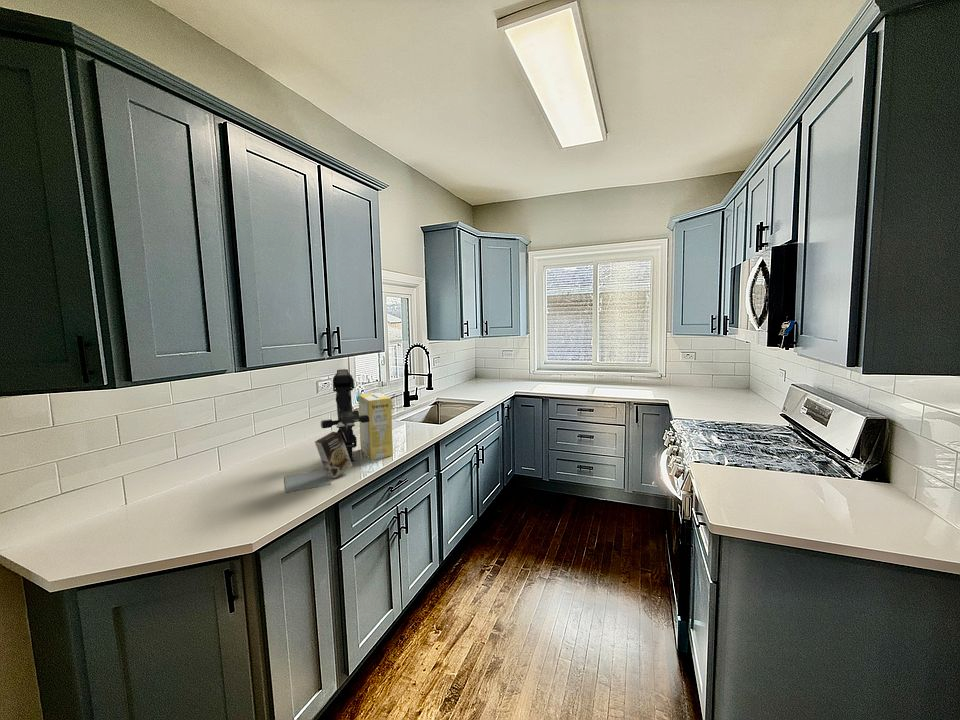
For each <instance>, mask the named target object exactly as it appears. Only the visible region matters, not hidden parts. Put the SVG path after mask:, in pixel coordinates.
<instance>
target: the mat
mask: <svg viewBox="0 0 960 720" xmlns="http://www.w3.org/2000/svg"><path fill="white" fill-rule="evenodd" d="M329 477H330V476H327V475H326V472H325V469H319V470H311V471H305V472H300V473H295V474H289V475H288V474H287V475H284V485H285V487H284V488H285V493H286V494H287V493H292V492H298V491H303V490H309V489H314V488H319V487H325V486H330V485H332V482H331V480H330V478H329Z"/></svg>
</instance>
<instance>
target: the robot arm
mask: <svg viewBox="0 0 960 720" xmlns="http://www.w3.org/2000/svg"><path fill="white" fill-rule="evenodd" d="M354 389H355V381H354V378H353V375H351V374H350V373H349V369H346V368H345V369H343V368H342V369H337V370H336V374H334V376H333V377H332V391H333V393H334V392H335V393H336V394H335V402H336V410H337V411H336V413H337V419H336V420H333V419H323V420H321V421H320V428H321V429H329V428H332V427H333V426H336V428H337V431H336V432H339V433H341V435H342V437H343V440H344V443H345V446H346V449H347V452H348V455H349V458H350V461H351V462H355V461H356V460H355V458H354V457H353V449H355V448H356V447H357V437H356V435H355V434H354V431H353V428H354V427H355V426H356V424H355V423H357V422H359V423H360V422H362V423H365V422H370V421H369V416H368V415H359V409H356V410H353V409H352V408H353V407H352V397H351V392H352V391H353V390H354Z"/></svg>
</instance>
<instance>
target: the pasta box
mask: <svg viewBox="0 0 960 720" xmlns="http://www.w3.org/2000/svg"><path fill="white" fill-rule="evenodd" d="M358 411H359V415H368V416H369V421H370V422H365V423H362V422H359V436H360V437H359V443H360V451H361V452H363V454H365V455H366V457H367V458H368V459H370V460H371V461H373V460H376V459H383V458H388V456H389V457H393V456H394V451H393V449H394V448H393V447H394V446H393V422H392V419H393V418H392V413H393V412H392V398H391V397H389V396H387V395H385V394H383V393H381V392H374V393H372V392H371V393H363V394H358Z"/></svg>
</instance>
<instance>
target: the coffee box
mask: <svg viewBox="0 0 960 720" xmlns="http://www.w3.org/2000/svg"><path fill="white" fill-rule="evenodd" d="M314 443H315V446H316V448H317V452H318V454H319V457H320V460H321V463H322V466H323V468H324V469H325V472H326V475H327V476H328V477H331V478H334V479H335V478H337V477H339V476H340V475H342V474H343V473H346V471H347V470H349V469H351V468H353V464H352V461H350V458H349V455H348V452H347V449H346V446H345V443H344V440H343V437H342V435H341V433H339V432H337V431H331V432H330V433H328V434H326V435H324V436H323V437H320V438H319V439H317V440H315V441H314Z"/></svg>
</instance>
